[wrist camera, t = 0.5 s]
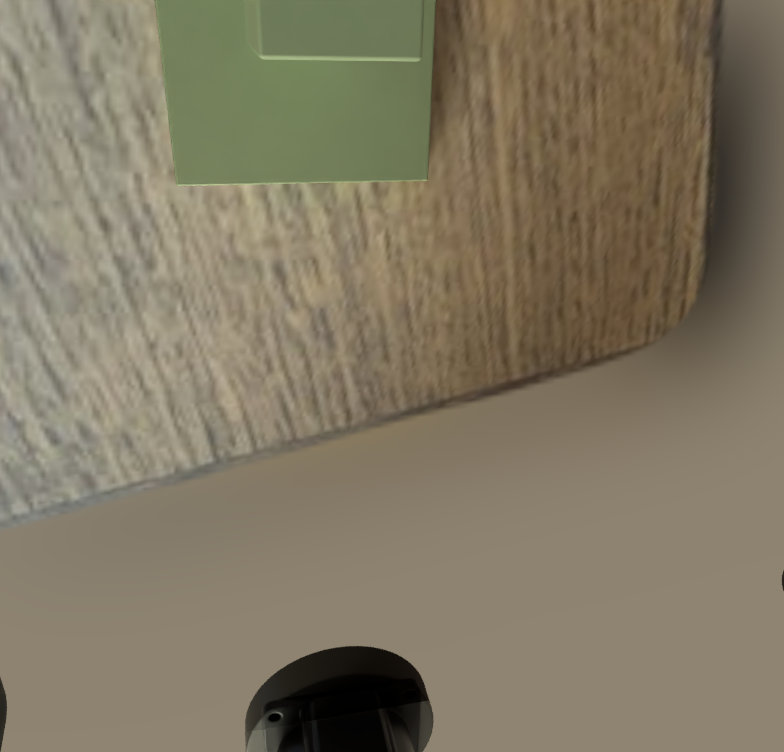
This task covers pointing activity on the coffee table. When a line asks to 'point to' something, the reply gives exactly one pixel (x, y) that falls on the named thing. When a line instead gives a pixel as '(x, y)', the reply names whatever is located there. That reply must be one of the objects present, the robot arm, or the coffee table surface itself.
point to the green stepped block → (298, 89)
